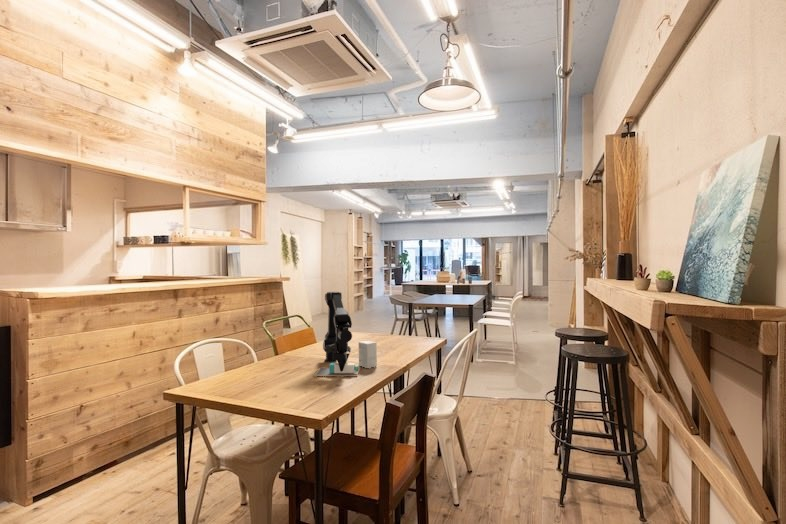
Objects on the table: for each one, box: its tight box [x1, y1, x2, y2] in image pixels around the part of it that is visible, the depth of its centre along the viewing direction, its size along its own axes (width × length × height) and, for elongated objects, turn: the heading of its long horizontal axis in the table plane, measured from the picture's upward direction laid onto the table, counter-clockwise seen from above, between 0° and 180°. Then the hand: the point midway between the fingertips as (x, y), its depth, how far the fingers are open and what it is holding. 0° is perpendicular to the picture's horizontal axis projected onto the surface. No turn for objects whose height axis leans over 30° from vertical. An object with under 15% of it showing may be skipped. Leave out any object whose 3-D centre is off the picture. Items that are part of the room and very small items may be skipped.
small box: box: [358, 340, 378, 369], centre depth 225 cm, size 8×6×13 cm
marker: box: [328, 362, 359, 373], centre depth 211 cm, size 4×14×4 cm, turn 87°
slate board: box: [313, 366, 361, 378], centre depth 214 cm, size 15×21×1 cm
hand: (342, 370), depth 211 cm, fingers closed on marker, 4 cm apart
